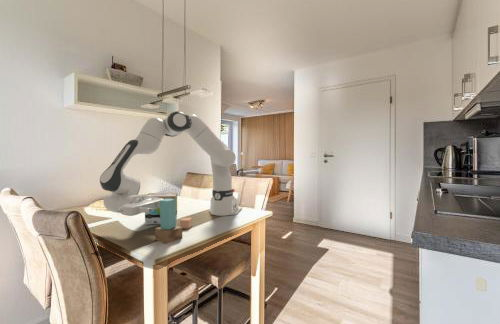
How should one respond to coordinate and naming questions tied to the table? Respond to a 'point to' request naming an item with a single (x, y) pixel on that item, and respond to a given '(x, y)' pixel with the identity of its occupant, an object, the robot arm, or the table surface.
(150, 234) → the table surface
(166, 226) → the teal block
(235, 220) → the table surface
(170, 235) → the walnut base block
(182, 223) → the terracotta block
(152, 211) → the tea box
